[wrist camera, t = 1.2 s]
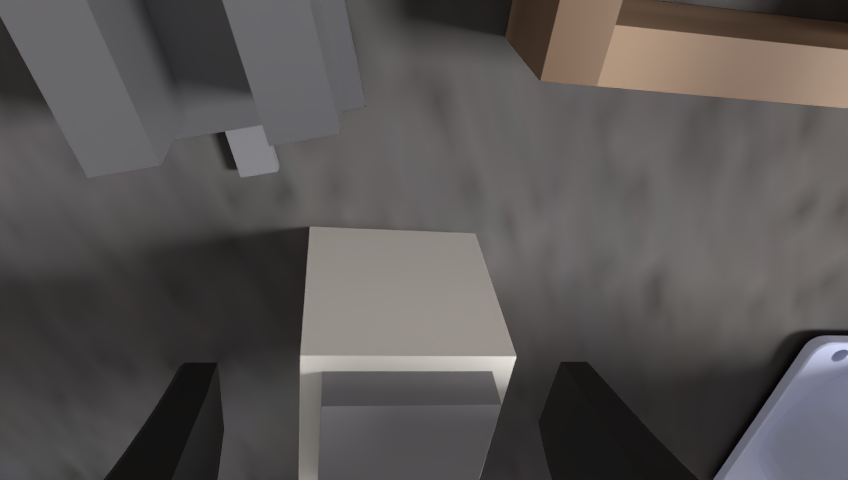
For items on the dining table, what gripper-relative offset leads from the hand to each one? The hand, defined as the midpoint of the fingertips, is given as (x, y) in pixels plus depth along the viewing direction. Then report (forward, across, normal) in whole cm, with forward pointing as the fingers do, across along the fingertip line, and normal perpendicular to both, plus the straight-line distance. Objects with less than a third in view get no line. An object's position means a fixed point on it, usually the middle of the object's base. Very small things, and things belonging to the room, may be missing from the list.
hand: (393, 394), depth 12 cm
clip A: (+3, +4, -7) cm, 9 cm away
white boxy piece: (+3, 0, 0) cm, 3 cm away
